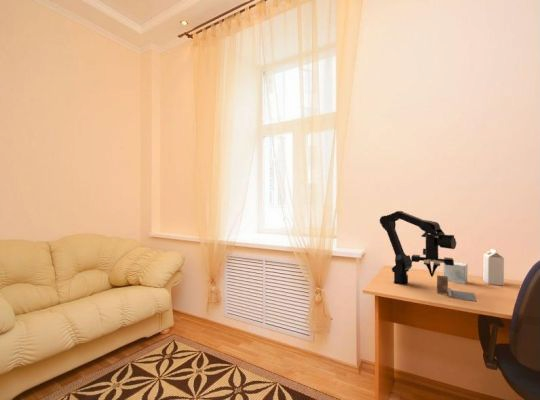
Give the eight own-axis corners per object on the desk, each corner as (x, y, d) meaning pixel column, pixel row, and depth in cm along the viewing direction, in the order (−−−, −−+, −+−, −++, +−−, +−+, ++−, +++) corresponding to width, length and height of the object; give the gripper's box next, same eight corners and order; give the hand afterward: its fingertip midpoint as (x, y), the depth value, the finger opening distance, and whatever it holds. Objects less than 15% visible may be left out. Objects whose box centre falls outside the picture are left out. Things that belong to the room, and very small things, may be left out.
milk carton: (497, 281, 158) (498, 248, 158) (503, 285, 151) (504, 250, 151) (483, 280, 160) (483, 247, 160) (488, 284, 154) (488, 250, 153)
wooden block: (437, 293, 140) (437, 277, 140) (437, 290, 144) (437, 275, 144) (447, 294, 138) (447, 278, 138) (447, 292, 142) (447, 276, 142)
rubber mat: (453, 297, 134) (453, 297, 134) (452, 290, 144) (452, 290, 144) (476, 301, 129) (476, 301, 129) (473, 293, 139) (473, 293, 139)
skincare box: (443, 280, 162) (443, 262, 162) (446, 278, 166) (446, 260, 166) (464, 284, 154) (464, 265, 154) (467, 282, 158) (467, 263, 158)
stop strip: (448, 297, 135) (448, 295, 135) (447, 289, 145) (447, 288, 145) (451, 297, 134) (451, 295, 134) (450, 290, 144) (450, 288, 144)
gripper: (452, 245, 145) (452, 275, 145) (412, 242, 155) (412, 270, 155) (453, 248, 136) (453, 280, 136) (411, 245, 145) (411, 275, 145)
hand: (431, 276), depth 143 cm, fingers closed
